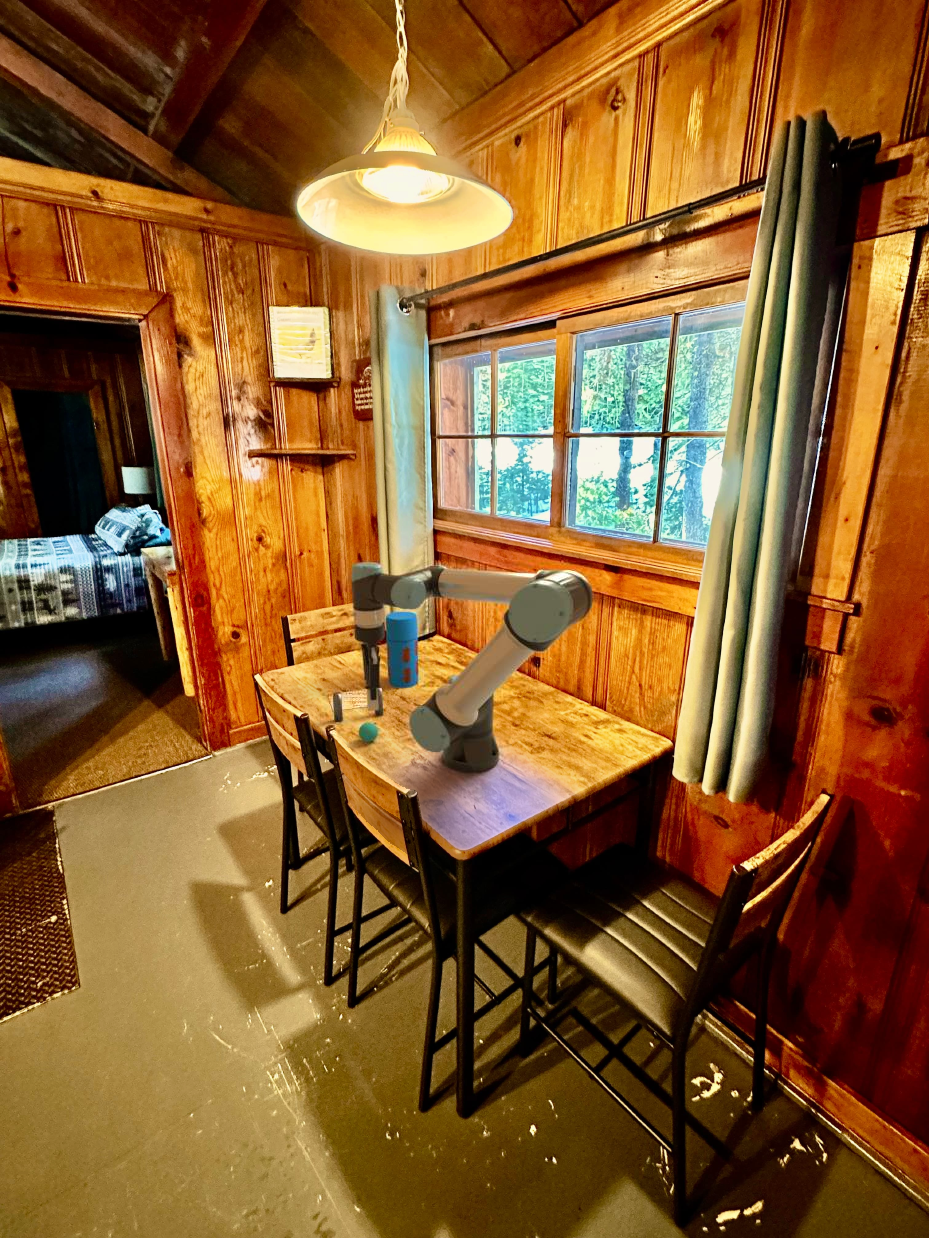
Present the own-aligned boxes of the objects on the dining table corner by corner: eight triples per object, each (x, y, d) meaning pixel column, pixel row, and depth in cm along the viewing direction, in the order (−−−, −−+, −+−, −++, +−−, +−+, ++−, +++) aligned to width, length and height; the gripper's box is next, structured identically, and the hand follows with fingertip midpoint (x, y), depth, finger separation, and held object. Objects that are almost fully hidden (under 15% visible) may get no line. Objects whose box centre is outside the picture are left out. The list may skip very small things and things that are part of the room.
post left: (343, 721, 175) (341, 694, 173) (334, 723, 174) (333, 695, 172) (342, 718, 178) (340, 691, 175) (333, 719, 177) (331, 692, 174)
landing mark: (376, 705, 187) (376, 704, 187) (333, 711, 182) (333, 711, 182) (368, 689, 199) (368, 688, 199) (327, 695, 195) (327, 694, 195)
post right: (384, 715, 179) (382, 688, 177) (375, 716, 179) (374, 690, 176) (382, 712, 182) (381, 685, 179) (374, 713, 181) (372, 687, 178)
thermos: (422, 678, 209) (421, 612, 202) (412, 689, 199) (410, 620, 192) (395, 675, 212) (392, 610, 205) (383, 686, 202) (380, 618, 195)
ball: (380, 743, 162) (379, 725, 161) (361, 746, 160) (360, 729, 159) (376, 734, 167) (375, 717, 166) (357, 738, 165) (356, 720, 164)
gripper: (349, 618, 149) (354, 701, 156) (358, 632, 138) (363, 722, 144) (378, 615, 152) (381, 697, 158) (389, 629, 140) (392, 717, 147)
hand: (373, 709), depth 151 cm, fingers closed
